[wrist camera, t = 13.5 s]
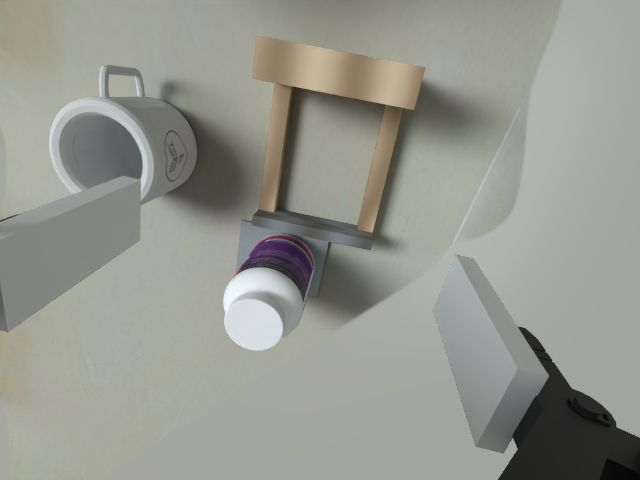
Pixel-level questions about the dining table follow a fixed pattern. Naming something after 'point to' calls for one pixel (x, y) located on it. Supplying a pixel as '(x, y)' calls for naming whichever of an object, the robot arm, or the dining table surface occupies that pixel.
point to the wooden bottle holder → (339, 79)
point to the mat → (255, 234)
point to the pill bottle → (268, 292)
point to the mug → (122, 140)
